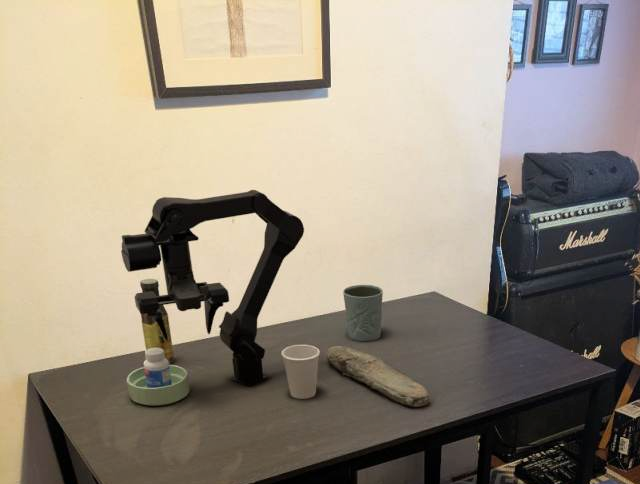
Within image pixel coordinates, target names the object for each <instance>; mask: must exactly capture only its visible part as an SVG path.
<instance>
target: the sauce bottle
mask: <svg viewBox="0 0 640 484" xmlns="http://www.w3.org/2000/svg"><path fill="white" fill-rule="evenodd" d="M139 285H140V288H141V291H142V292H141V293H143V292H150V291H153V292H154V294H155V295H156V296H160V289H159V287H160V284H159V281H158V279H156V278H146V279H142V280H140V282H139ZM159 310H160V311H161V313H162V318H163V322H164V325H165V329H166V332H167V337H168V340H167V341H166V340H165V338H164V336H163V334H162V332H161V330H160V328H159V326H158V324H157V322H156V321H155V319H154V318H153V317H148V316H147V315H146V314H140V318H141V327H142V334H143V340H144V346H145V351H146V350H147V349H150V348H161V349H163V350H164V358H166V359H167V360H168V362H169V364H170V365H172V364H173V362H174V348H173V341H172V334H171V328H170V327H171V326H170V320H169V314H168V311H167V309H166V308H165V306H164V305H159Z"/></svg>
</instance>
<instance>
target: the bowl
mask: <svg viewBox="0 0 640 484" xmlns="http://www.w3.org/2000/svg"><path fill="white" fill-rule="evenodd" d="M169 367H170V374H171V381H172V385H168V386H164V387H157V388H147V383H146V377H145V371H144V366H143V367H140V368H137V369H134V370H133V371H131V372H130V373H129V374H128V375H127V377H126V384H127V389H128V393H129V394H128V395H129V398H130V399H131V400H132V401H133V402H134V403H137V404H140V405H144V406H153V407H154V406H156V407H157V406H166V405H170V404H174V403H176V402H178V401H180V400H182V399H184V398H186V397H187V396H188V395H189V393H190V391H191V389H190V381H189V375H188V371H187V370H186V369H185V368H184V367H181V366H179V365H176V364H169Z"/></svg>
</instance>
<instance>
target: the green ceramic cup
mask: <svg viewBox="0 0 640 484" xmlns="http://www.w3.org/2000/svg"><path fill="white" fill-rule="evenodd" d="M383 291H384V290H383V289H382V288H381V287H380V286H376V285H373V284H355V285H351V286H348V287H346V288H344V289H343V291H342V294H343V302H344V309H345V319H346V324H347V325H346V328H347V337H348V338H349V339H351V340H353V341H356V342H372V341H376V340H378V339H379V338H381V335H382V333H381V332H382V317H383V316H382V315H383V308H382V306H383V293H384V292H383Z"/></svg>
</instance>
